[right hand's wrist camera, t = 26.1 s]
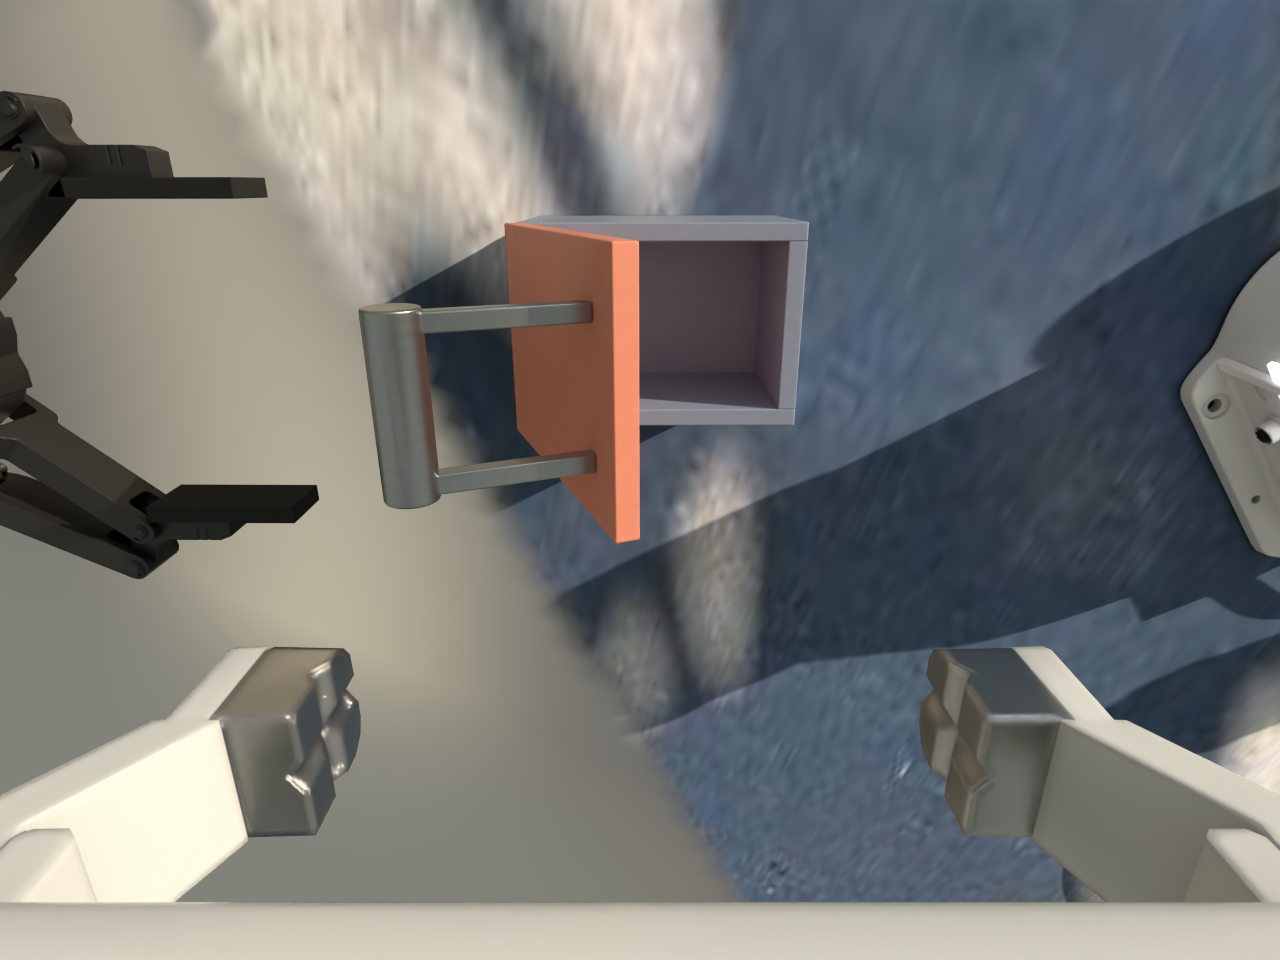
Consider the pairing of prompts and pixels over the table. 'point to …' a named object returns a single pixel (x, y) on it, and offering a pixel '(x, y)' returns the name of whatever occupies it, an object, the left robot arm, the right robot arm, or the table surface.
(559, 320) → the lid
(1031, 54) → the table surface
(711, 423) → the chest
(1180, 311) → the table surface
